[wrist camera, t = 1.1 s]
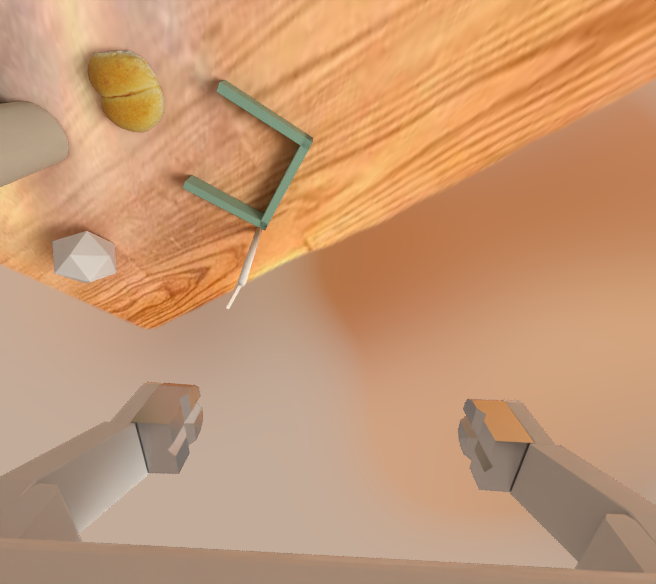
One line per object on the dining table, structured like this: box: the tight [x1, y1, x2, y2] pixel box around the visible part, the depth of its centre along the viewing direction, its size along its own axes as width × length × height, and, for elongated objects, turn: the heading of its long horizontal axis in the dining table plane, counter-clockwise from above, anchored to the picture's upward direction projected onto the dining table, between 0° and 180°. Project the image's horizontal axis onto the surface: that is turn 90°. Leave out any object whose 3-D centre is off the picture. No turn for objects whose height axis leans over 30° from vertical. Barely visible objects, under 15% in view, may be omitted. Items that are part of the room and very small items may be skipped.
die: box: [52, 231, 116, 283], centre depth 52 cm, size 8×9×10 cm
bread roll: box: [88, 51, 165, 132], centre depth 40 cm, size 8×9×4 cm
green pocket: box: [183, 80, 313, 309], centre depth 43 cm, size 22×13×16 cm, turn 148°
